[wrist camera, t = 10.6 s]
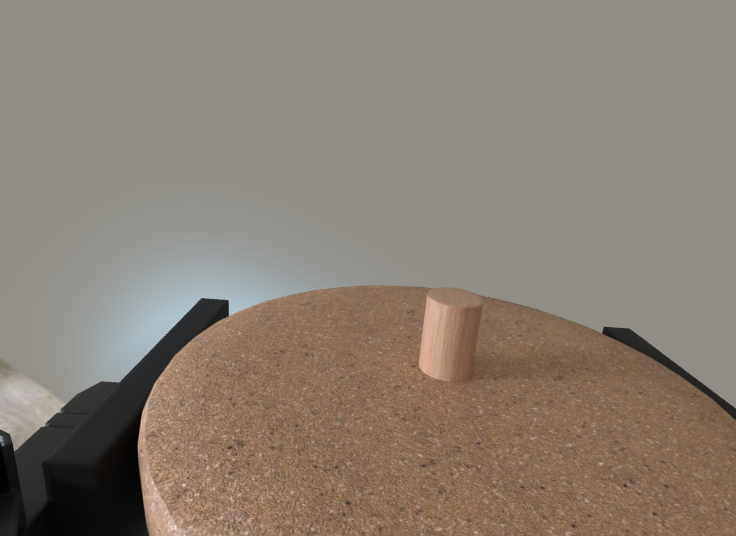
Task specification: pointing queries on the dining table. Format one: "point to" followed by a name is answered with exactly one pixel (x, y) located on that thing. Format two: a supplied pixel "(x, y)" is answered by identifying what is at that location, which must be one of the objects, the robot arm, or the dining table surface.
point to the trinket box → (427, 426)
